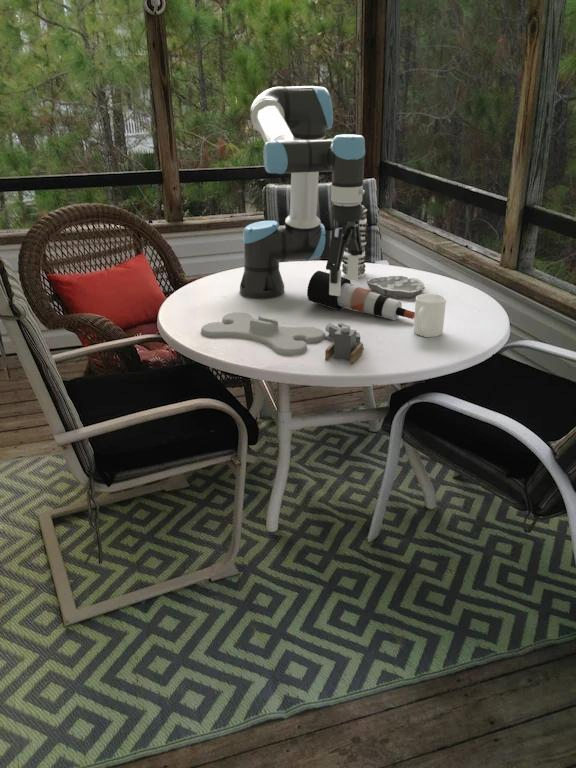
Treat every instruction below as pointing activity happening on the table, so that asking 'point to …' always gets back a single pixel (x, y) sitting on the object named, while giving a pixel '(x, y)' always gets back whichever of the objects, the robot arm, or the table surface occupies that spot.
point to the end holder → (353, 356)
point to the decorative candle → (361, 257)
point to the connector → (344, 343)
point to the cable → (354, 298)
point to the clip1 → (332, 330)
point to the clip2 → (358, 339)
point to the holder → (264, 332)
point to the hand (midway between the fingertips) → (343, 287)
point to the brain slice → (396, 286)
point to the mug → (429, 315)
